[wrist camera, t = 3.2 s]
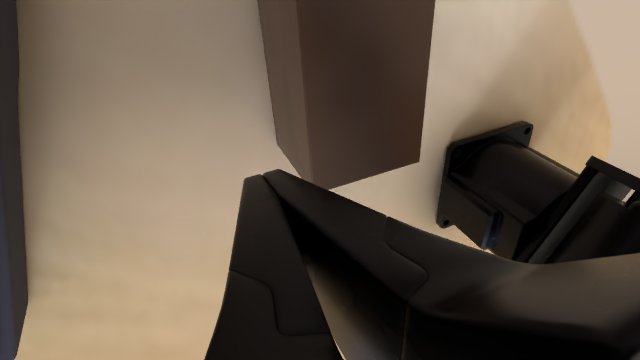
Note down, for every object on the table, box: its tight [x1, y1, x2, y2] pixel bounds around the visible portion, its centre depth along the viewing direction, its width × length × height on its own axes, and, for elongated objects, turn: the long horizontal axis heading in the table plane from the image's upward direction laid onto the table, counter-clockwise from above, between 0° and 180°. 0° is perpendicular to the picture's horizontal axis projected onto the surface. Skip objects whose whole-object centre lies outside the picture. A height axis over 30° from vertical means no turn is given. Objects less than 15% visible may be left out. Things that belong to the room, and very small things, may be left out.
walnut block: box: [258, 0, 435, 190], centre depth 16 cm, size 5×8×4 cm, turn 3°
